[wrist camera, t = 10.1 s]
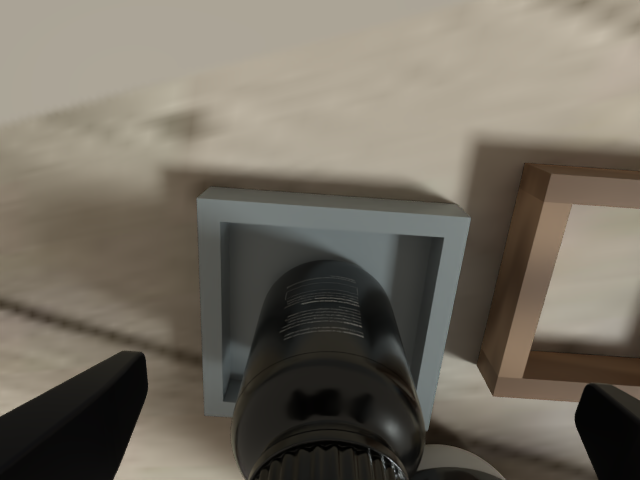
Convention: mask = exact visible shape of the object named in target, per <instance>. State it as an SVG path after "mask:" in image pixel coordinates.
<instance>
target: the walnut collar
mask: <svg viewBox="0 0 640 480" xmlns="http://www.w3.org/2000/svg"><path fill="white" fill-rule="evenodd" d="M572 204H580V205H594V206H608V207H622V208H636V209H640V171H630V170H616V169H602V168H588V167H574V166H560V165H546V164H532V163H525V165H524V169H523V174H522V178H521V182H520V186H519V190H518V195H517V199H516V203H515V207H514V211H513V216H512V220H511V224H510V228H509V232H508V236H507V241H506V245H505V249H504V253H503V257H502V262H501V266H500V270H499V274H498V278H497V283H496V287H495V291H494V295H493V299H492V304H491V308H490V312H489V316H488V320H487V325H486V329H485V333H484V337H483V341H482V346H481V350H480V354H479V358H478V362H477V367H478V369H479V371H480V372H481V374H482V376H483V378H484V380H485V382H486V384H487V386H488V388H489V390H490V392H491V393H492V395H493V396H496V397H511V398H525V399H540V400H554V401H569V402H579V401H580V398H581V395H582V392H583V390H584V387H585V386H586V385H587V384H588V383H605V384H611V385H613V386H615V387H617V388H619V389H620V390H622V391H624V392H626V393H628V394H629V395H631V396H633V397H635V398H637V399H638V400H640V358H629V357H614V356H600V355H585V354H571V353H556V352H542V351H530V349H531V346H532V342H533V339H534V335H535V332H536V328H537V325H538V321H539V318H540V314H541V311H542V308H543V304H544V301H545V297H546V294H547V290H548V287H549V283H550V280H551V276H552V273H553V269H554V266H555V262H556V259H557V255H558V252H559V248H560V245H561V241H562V238H563V235H564V231H565V228H566V224H567V221H568V217H569V214H570V210H571V207H572Z"/></svg>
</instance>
